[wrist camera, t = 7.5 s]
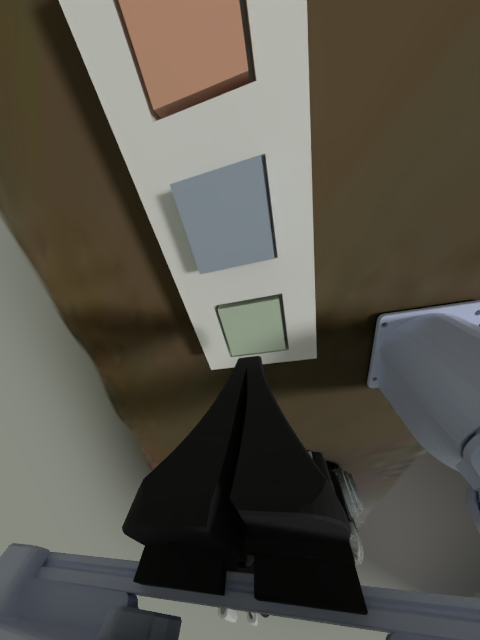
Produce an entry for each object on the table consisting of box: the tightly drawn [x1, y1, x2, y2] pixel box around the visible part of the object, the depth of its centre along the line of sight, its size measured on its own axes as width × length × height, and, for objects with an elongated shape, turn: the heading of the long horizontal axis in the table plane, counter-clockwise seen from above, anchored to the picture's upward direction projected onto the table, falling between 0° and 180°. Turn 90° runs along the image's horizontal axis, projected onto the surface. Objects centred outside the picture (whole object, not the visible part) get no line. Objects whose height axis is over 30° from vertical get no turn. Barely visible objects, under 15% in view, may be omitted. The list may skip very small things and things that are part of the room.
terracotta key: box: [118, 0, 249, 119], centre depth 8 cm, size 5×5×2 cm
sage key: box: [218, 294, 286, 356], centre depth 16 cm, size 5×5×2 cm
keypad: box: [59, 0, 317, 370], centre depth 12 cm, size 24×10×3 cm, turn 13°
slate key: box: [170, 155, 275, 274], centre depth 11 cm, size 5×5×2 cm
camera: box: [307, 451, 364, 564], centre depth 27 cm, size 15×7×10 cm, turn 25°
